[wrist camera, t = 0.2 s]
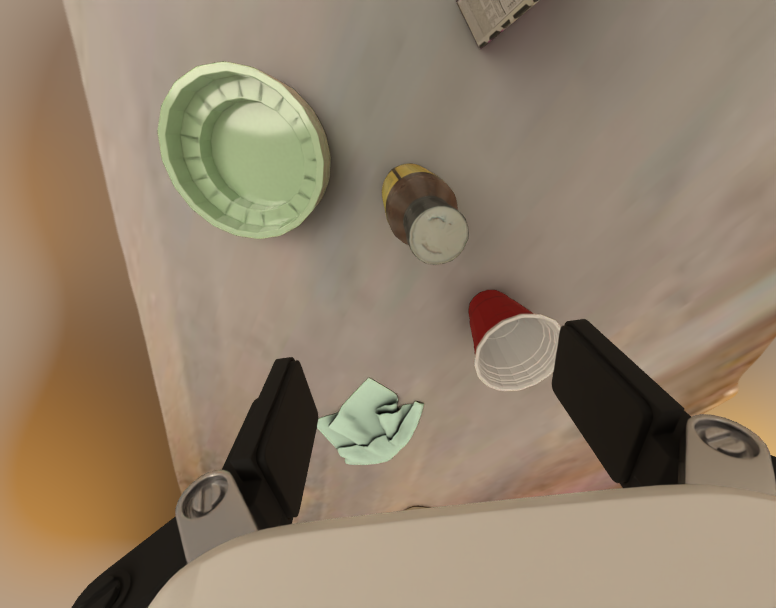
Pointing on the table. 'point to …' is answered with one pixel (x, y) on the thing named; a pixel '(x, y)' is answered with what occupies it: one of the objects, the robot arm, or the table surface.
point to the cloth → (371, 425)
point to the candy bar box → (491, 16)
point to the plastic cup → (511, 342)
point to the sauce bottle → (424, 214)
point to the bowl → (243, 149)
